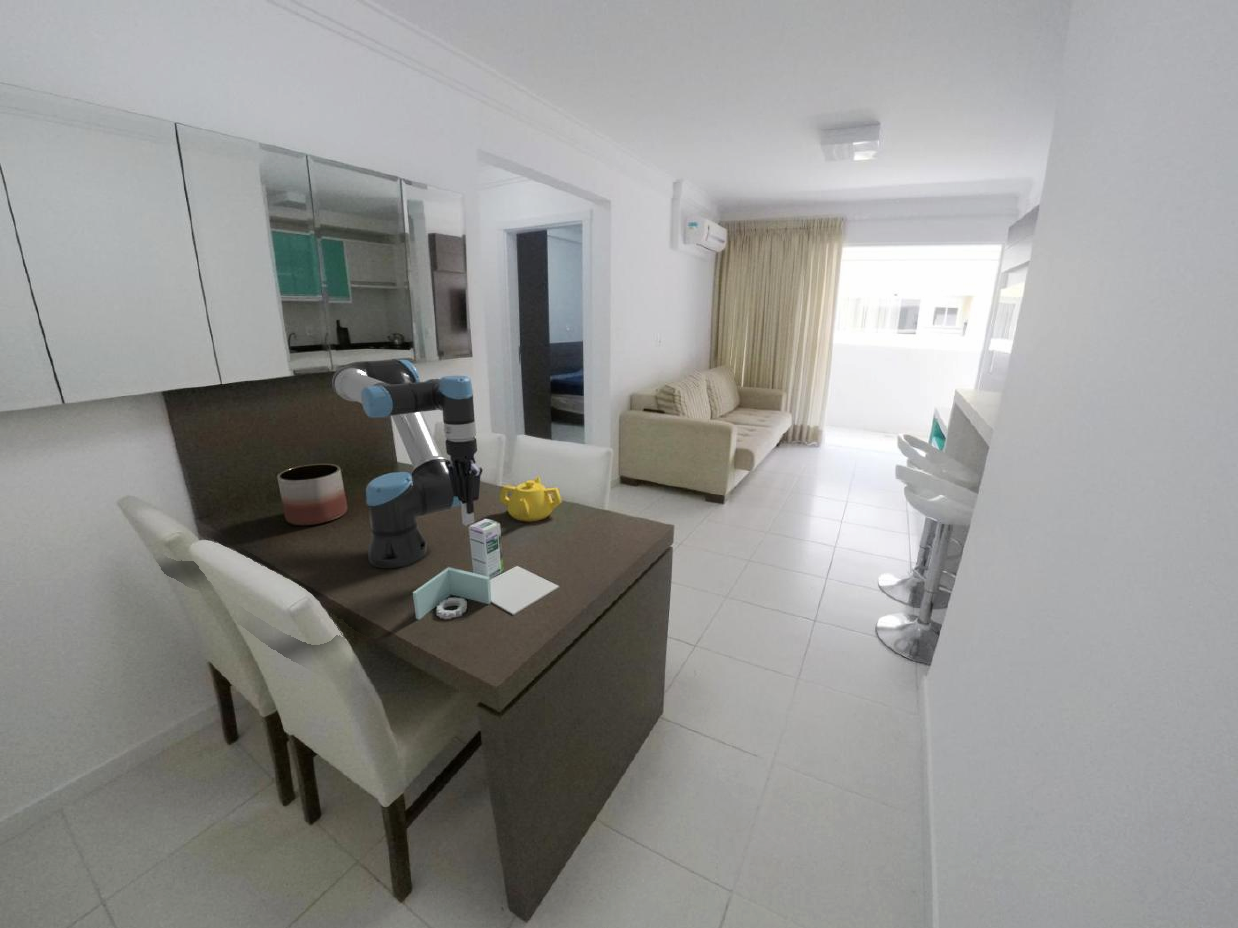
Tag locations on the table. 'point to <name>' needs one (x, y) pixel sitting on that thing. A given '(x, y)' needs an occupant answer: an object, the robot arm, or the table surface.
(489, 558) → the syrup box
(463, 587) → the l-shaped corner panel
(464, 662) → the table surface
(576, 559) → the table surface
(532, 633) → the table surface
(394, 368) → the robot arm
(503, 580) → the mat
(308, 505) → the planter
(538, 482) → the teapot
